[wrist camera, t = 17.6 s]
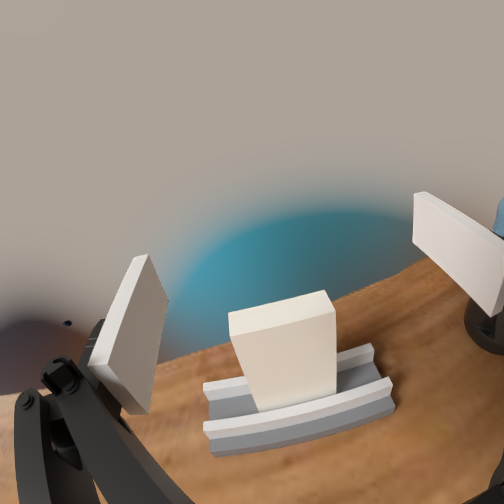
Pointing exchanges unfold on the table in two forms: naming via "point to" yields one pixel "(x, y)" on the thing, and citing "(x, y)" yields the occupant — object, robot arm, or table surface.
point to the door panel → (287, 350)
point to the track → (297, 409)
